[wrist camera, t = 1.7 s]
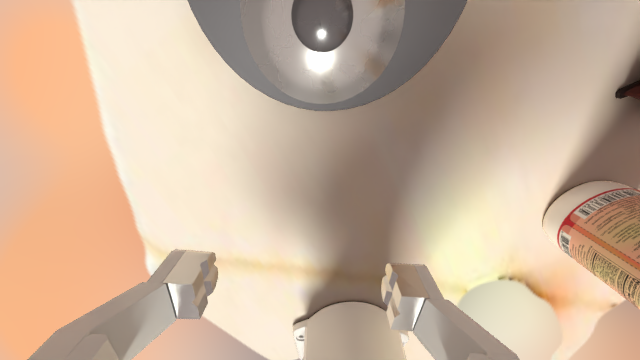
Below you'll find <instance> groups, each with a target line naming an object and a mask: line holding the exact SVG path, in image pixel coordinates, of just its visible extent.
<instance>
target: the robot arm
mask: <svg viewBox="0 0 640 360" xmlns="http://www.w3.org/2000/svg"><path fill="white" fill-rule="evenodd" d="M215 261H216V256H215V253H213V252H204V251H193V250H178V249H175V250H173V251H172V252H171V253H170V254H169V255H168V256H167V258H166V259H165V260H164V261H163V263H162V264H161V265H160V266H159V267H158V269H157V270H156V271H155V272H154V274H153V275H152V276H151V277H150V279H149V280H148V281H147V282H142V283H140V284H138V285H137V286H135V287H133V288H131V289H129V290H128V291H126V292H124V293H122V294H121V295H119V296H117V297H115V298H113V299H112V300H110V301H108V302H106V303H105V304H103V305H101V306H100V307H97V308H96V309H94V310H92V311H90V312H89V313H87V314H85V315H83V316H81V317H80V318H78V319H76V320H74V321H73V322H71V323H69V324H67V325H66V326H64V327H62V328H60V329H58V330H57V331H56V332H55V333H54V334H53V335H52V336H51V337H50V338H49V339H48V340H47V341H46V342H45V343H44V344H43V345H42V346H41V347H40V348H39V349H38V350H37V351H36V352H35V353H34V354H33V355H32V356H31V357H30V358H29V359H28V360H131V359H132V358H134V357H135V356H136V355H137V354H138V353H139V352H141V351H142V350H143V349H144V348H145V347H146V346H147V345H148V344H149V343H150V342H152V341H153V340H154V339H155V338H156V337H158V336H159V335H160V334H161V333H162V332H163V331H164V330H165V329H167V328H168V327H169V326H170V325H171V324H172V323H173V322H174V321H176V319H177V318H178V319H200V318H201V316H202V314H203V312H204V310H205V308H206V306H207V304H208V300H207V296H209V295H210V294H211V293H213V291H214V289H215V287H216V283H217V279H218V268H217V267H216V266H215V265H214V263H215ZM385 272H386V276H384V277H383V279H382V283H381V293H382V298H383V302H384V303H385V304H386V305H387V306H388V308H387V312H386V311H384V310H383V309H381V308H379V307H377V306H375V305H371V304H368V303H362V302H343V303H337V304H333V305H330V306H328V307H325V308H323V309H321V310H320V311H318V312H317V313H315V314H314V315H313V316H312V317H311V318H309V319H307V320H304V321H301V322H299V323H296V324H295V325H294V326H293V335H294V339H295V343H296V346H297V350H298V354H299V357H300V360H406V356H405V352H404V348H403V347H404V346H405V344H406V343H407V341H408V340H409V336H408V332H407V331H413V333H414V334H415V336H416V337H417V338H418V339H419V341H420V342H421V343H422V344H423V346H424V347H425V348H426V349H427V350H428V352H429V353H430V354H431V355H432V357H433V358H434V359H435V360H519V358H518V356H517V355H516V354H515V353H514V352H512V351H511V350H510V349H509V348H507V347H506V346H505V345H504V344H503V343H501V342H500V341H499V340H498V339H496V338H495V337H494V336H493V335H491V334H490V333H489V332H488V331H486V330H485V329H484V328H483V327H481V326H480V325H479V324H478V323H476V322H475V321H474V320H473V319H471V318H470V317H469V316H468V315H466V314H465V313H464V312H463V311H461V310H460V309H459V308H458V307H456V306H455V305H454V304H453V303H452V302H450V301H449V300H444V298H443V296H442V294H441V292H440V290H439V288H438V287H437V285H436V283H435V281H434V279H433V277H432V275H431V274H430V272H429V270H428V268H427V266H425V265H420V264H399V263H387V265H386V268H385Z"/></svg>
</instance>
